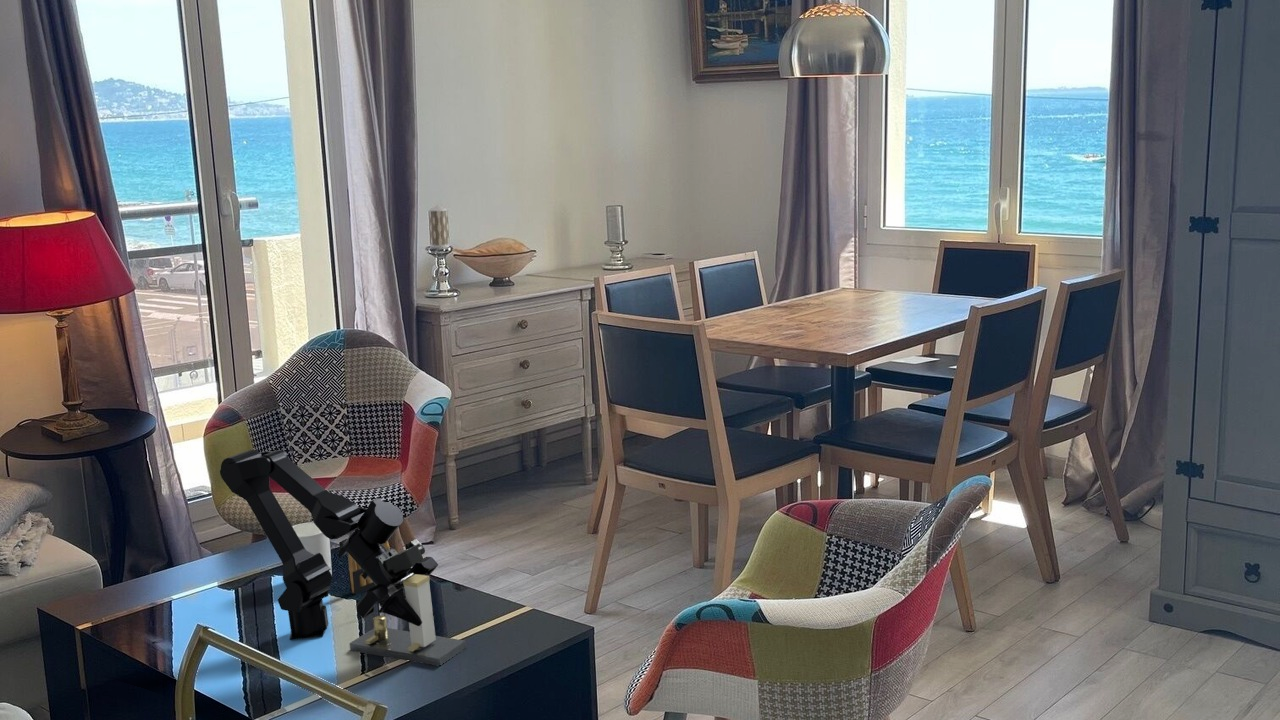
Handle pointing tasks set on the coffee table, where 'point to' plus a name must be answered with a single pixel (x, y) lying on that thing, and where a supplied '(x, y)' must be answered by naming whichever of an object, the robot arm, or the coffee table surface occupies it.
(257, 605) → the coffee table surface
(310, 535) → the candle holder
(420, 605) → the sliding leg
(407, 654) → the plate
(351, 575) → the ammunition clip
